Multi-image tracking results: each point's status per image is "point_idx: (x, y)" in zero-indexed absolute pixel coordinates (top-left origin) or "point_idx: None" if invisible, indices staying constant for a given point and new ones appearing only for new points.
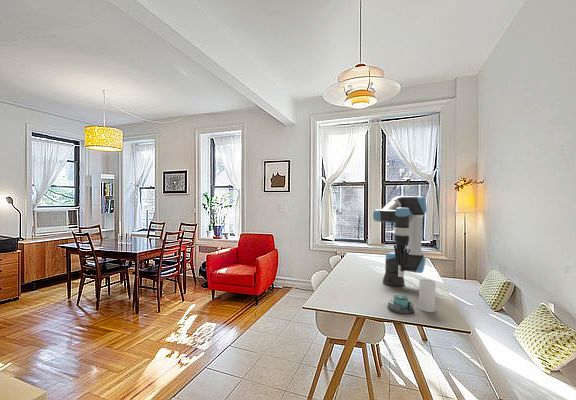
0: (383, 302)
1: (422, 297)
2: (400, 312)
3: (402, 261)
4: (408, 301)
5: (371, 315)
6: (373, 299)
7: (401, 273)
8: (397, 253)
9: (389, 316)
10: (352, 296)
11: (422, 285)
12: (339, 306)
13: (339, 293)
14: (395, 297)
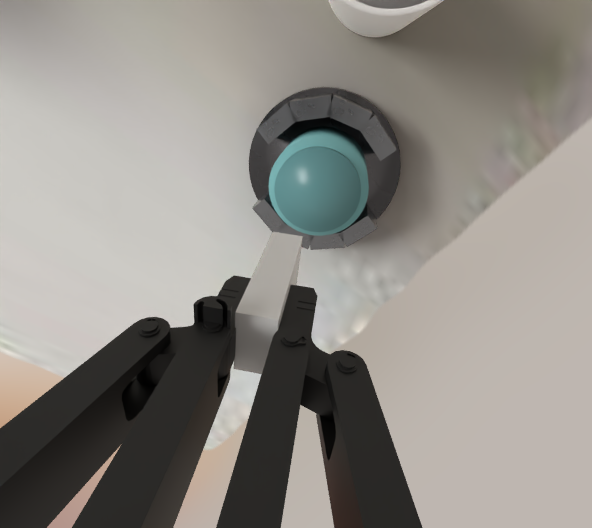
0: (212, 195)
1: (395, 28)
2: (377, 216)
3: (329, 454)
4: (323, 117)
5: (347, 340)
6: (163, 219)
7: (293, 283)
8: (37, 507)
9: (384, 283)
10: (120, 290)
11: (406, 18)
12: (233, 388)
13: (81, 319)
14: (313, 230)
